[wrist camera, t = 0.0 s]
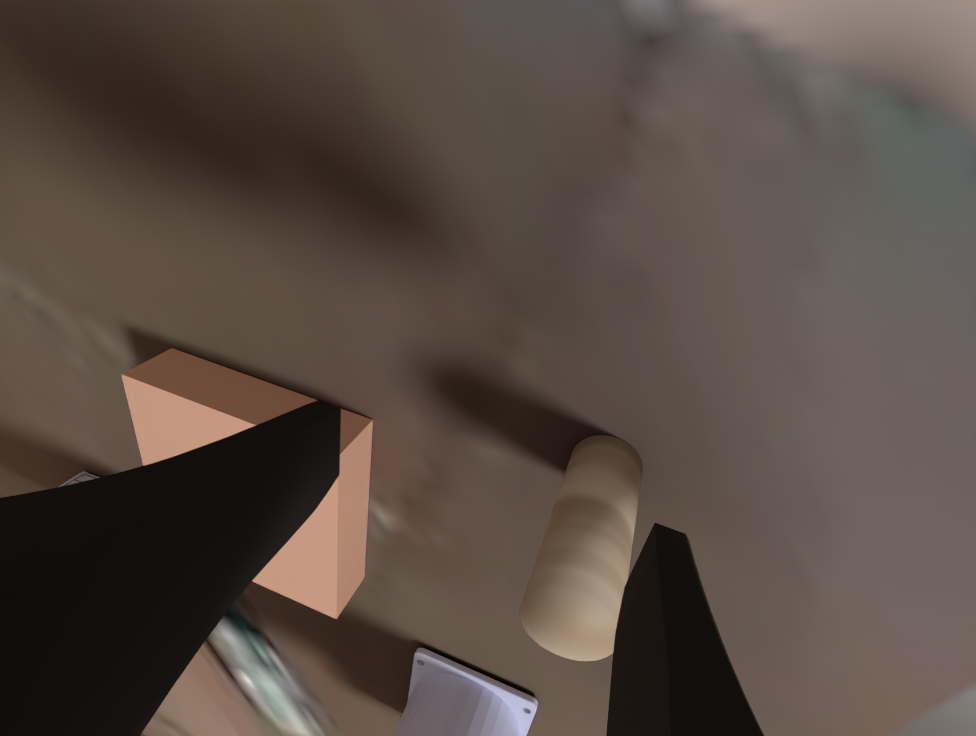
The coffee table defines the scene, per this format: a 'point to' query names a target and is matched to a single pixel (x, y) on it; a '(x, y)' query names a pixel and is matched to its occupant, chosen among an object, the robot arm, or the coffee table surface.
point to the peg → (585, 552)
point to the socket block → (236, 407)
